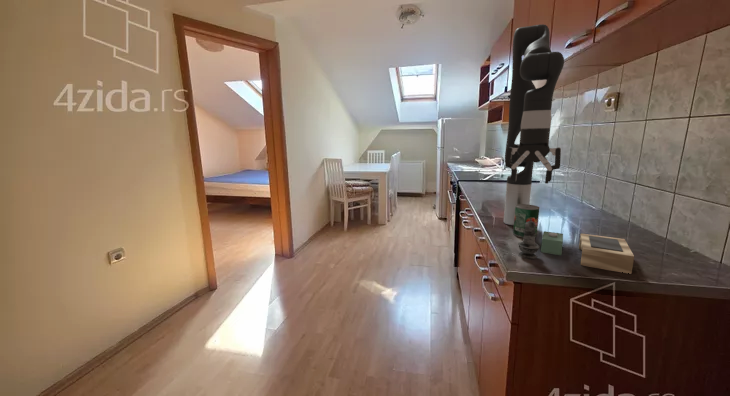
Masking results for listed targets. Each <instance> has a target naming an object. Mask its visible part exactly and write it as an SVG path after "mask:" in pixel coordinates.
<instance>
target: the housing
mask: <svg viewBox="0 0 730 396" xmlns="http://www.w3.org/2000/svg"><path fill="white" fill-rule="evenodd" d="M563 242H564V233H561V232H560V233H558V232H554V231H553V232H552V231H543V233H542V238H541V246H540V247H541V248H540V252H541V253H543V254H549V255H550V254H551V255H556V256H562V253H563V251H562V250H563V245H564V243H563Z"/></svg>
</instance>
